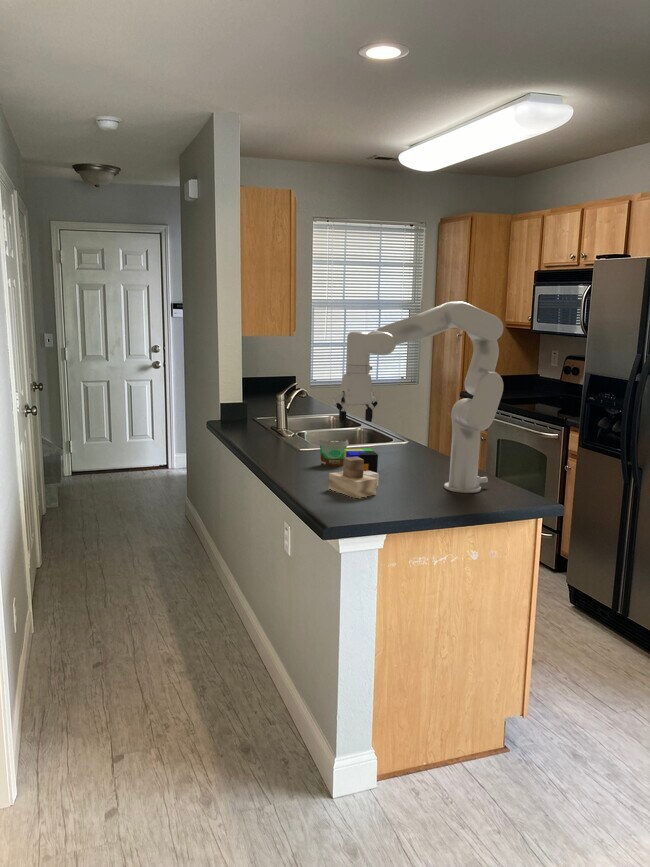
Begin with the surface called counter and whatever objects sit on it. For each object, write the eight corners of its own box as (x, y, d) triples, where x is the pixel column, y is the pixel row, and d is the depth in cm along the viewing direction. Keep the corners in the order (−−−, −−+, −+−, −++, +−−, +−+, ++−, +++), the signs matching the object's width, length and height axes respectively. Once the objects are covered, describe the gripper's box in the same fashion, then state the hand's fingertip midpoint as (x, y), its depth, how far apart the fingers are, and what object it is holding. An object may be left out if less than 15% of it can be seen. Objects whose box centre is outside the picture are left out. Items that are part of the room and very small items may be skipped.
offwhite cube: (367, 484, 252) (368, 470, 251) (378, 487, 248) (378, 473, 247) (357, 486, 248) (358, 472, 247) (368, 489, 245) (368, 475, 244)
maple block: (348, 487, 248) (349, 470, 247) (376, 496, 237) (376, 478, 236) (328, 490, 242) (329, 473, 241) (355, 500, 232) (356, 482, 231)
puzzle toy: (349, 482, 253) (350, 454, 252) (343, 475, 263) (344, 449, 261) (376, 482, 255) (378, 454, 253) (369, 475, 265) (370, 448, 263)
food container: (323, 468, 273) (324, 442, 271) (317, 465, 278) (318, 439, 277) (352, 466, 277) (353, 441, 276) (346, 463, 283) (347, 438, 281)
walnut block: (356, 473, 242) (357, 456, 241) (363, 477, 237) (363, 459, 236) (342, 474, 240) (343, 457, 239) (349, 478, 235) (350, 460, 234)
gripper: (374, 368, 239) (372, 419, 243) (328, 369, 232) (327, 421, 235) (386, 370, 233) (384, 422, 236) (339, 371, 225) (337, 425, 228)
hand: (355, 422), depth 235 cm, fingers open, 9 cm apart
